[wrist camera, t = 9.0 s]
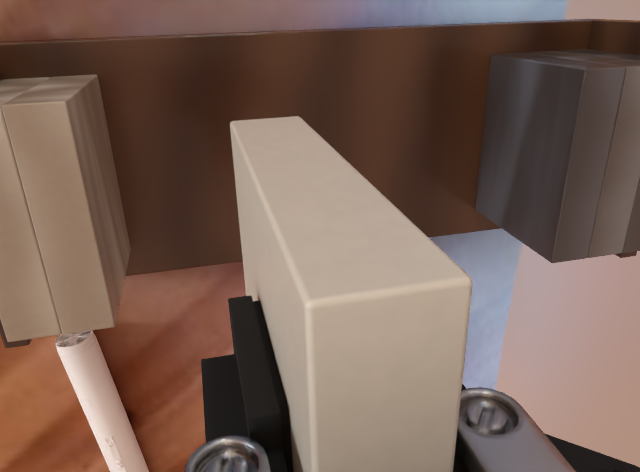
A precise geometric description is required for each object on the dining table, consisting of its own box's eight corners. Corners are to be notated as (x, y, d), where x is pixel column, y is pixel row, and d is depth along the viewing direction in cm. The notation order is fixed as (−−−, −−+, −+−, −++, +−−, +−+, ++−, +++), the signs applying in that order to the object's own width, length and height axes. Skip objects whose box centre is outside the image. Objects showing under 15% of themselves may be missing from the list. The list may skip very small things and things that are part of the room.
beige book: (300, 115, 15) (476, 278, 6) (310, 372, 19) (429, 709, 10) (228, 120, 14) (304, 303, 6) (254, 381, 18) (323, 744, 9)
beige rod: (174, 524, 38) (173, 554, 36) (145, 533, 38) (143, 564, 36) (95, 321, 31) (89, 344, 29) (58, 330, 30) (49, 354, 28)
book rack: (589, 18, 30) (734, 24, 22) (556, 211, 35) (665, 272, 27) (-21, 42, 24) (-123, 61, 16) (42, 274, 29) (-11, 378, 21)
